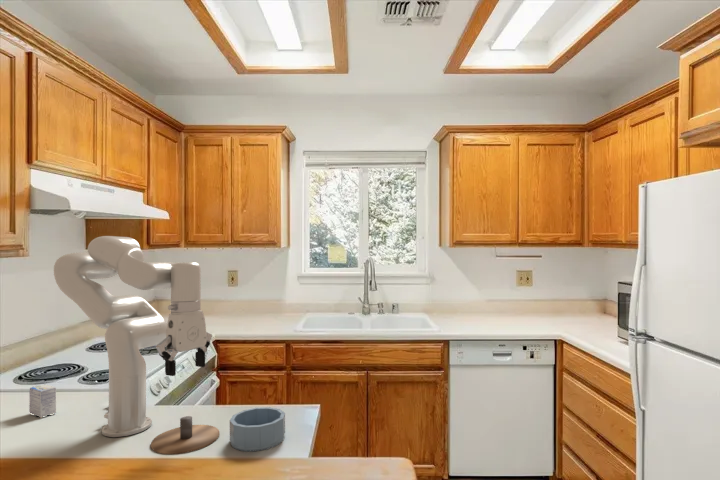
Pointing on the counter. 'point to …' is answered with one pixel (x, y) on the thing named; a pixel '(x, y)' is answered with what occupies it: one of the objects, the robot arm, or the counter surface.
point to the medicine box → (42, 400)
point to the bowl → (257, 429)
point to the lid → (185, 438)
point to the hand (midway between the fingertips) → (185, 370)
